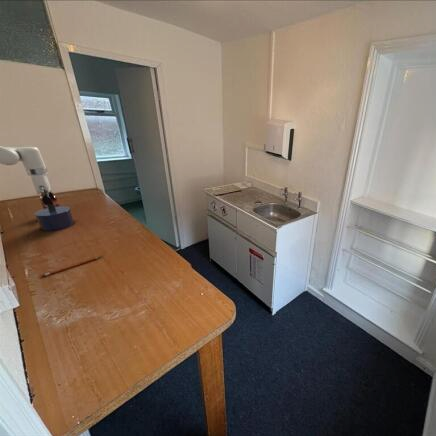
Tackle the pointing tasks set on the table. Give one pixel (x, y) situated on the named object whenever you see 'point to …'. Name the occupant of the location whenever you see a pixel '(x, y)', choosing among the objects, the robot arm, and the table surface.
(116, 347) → the table surface
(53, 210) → the lid
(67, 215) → the pot
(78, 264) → the pencil
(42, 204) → the soda can
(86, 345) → the table surface
